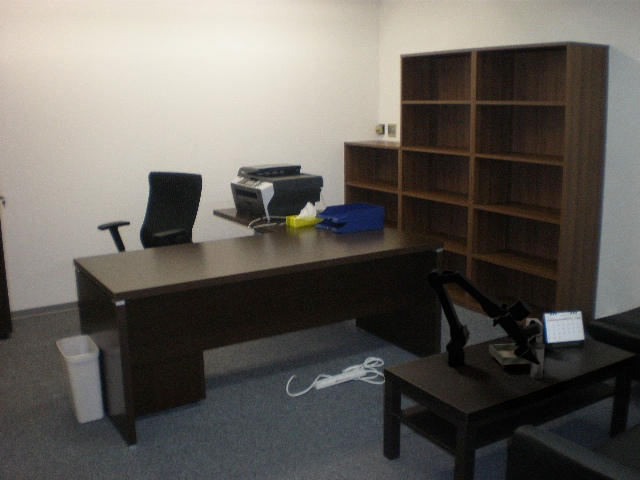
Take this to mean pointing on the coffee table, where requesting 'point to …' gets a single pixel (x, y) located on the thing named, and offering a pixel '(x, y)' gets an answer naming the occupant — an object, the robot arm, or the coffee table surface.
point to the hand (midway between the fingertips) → (540, 359)
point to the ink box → (539, 336)
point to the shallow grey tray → (506, 355)
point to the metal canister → (539, 353)
